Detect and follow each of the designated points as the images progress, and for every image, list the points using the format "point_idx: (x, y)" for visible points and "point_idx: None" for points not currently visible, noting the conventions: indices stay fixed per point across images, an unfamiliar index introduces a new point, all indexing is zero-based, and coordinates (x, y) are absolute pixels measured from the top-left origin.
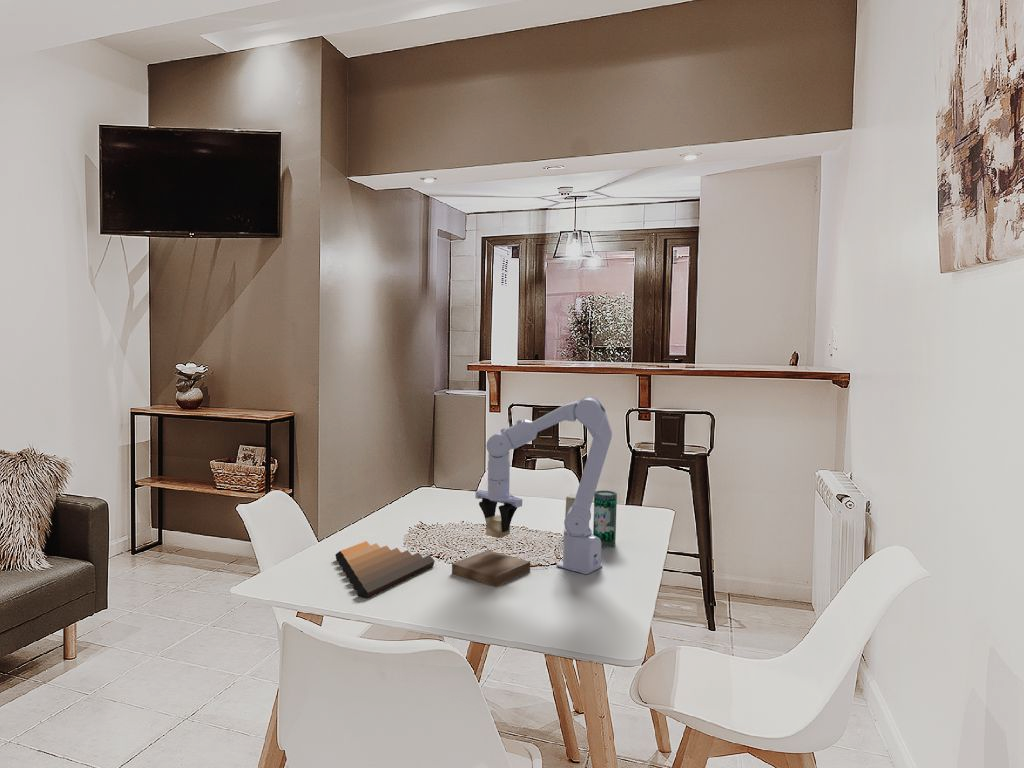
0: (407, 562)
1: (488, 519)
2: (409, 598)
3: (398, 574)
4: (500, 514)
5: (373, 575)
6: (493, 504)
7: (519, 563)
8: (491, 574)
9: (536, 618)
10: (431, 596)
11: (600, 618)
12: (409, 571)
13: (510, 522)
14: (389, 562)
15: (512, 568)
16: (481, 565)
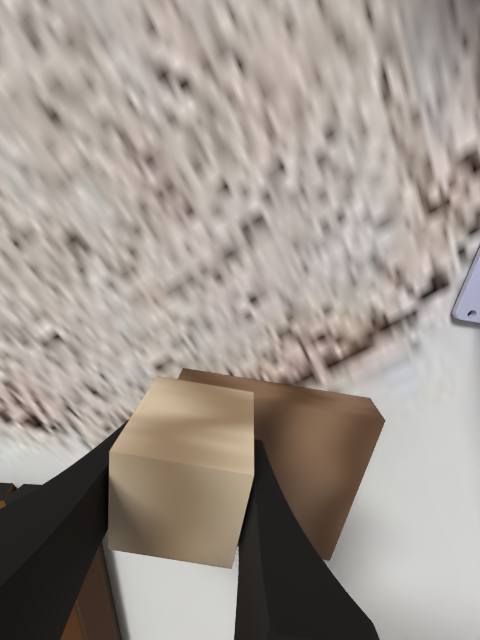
0: None
1: (132, 545)
2: (188, 624)
3: (98, 611)
4: (234, 635)
5: (64, 638)
6: (33, 605)
7: (353, 451)
8: None
9: (476, 610)
10: (219, 607)
11: None
12: (98, 583)
13: (276, 481)
14: None
15: (349, 495)
16: None
